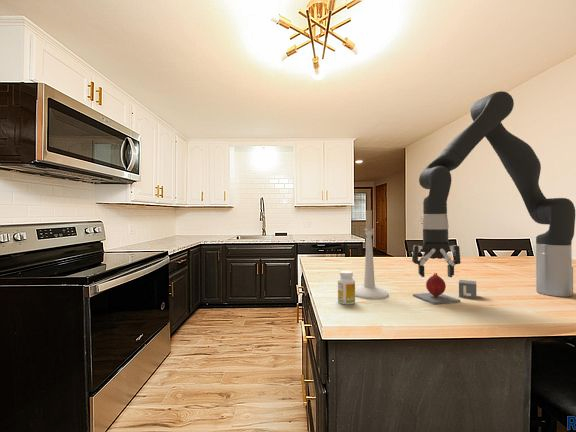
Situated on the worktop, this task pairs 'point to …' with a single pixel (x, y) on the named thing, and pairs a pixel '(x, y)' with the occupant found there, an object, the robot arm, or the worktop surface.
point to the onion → (435, 285)
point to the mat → (436, 298)
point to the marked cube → (467, 289)
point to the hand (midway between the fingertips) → (436, 276)
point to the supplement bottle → (346, 288)
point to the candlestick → (369, 268)
